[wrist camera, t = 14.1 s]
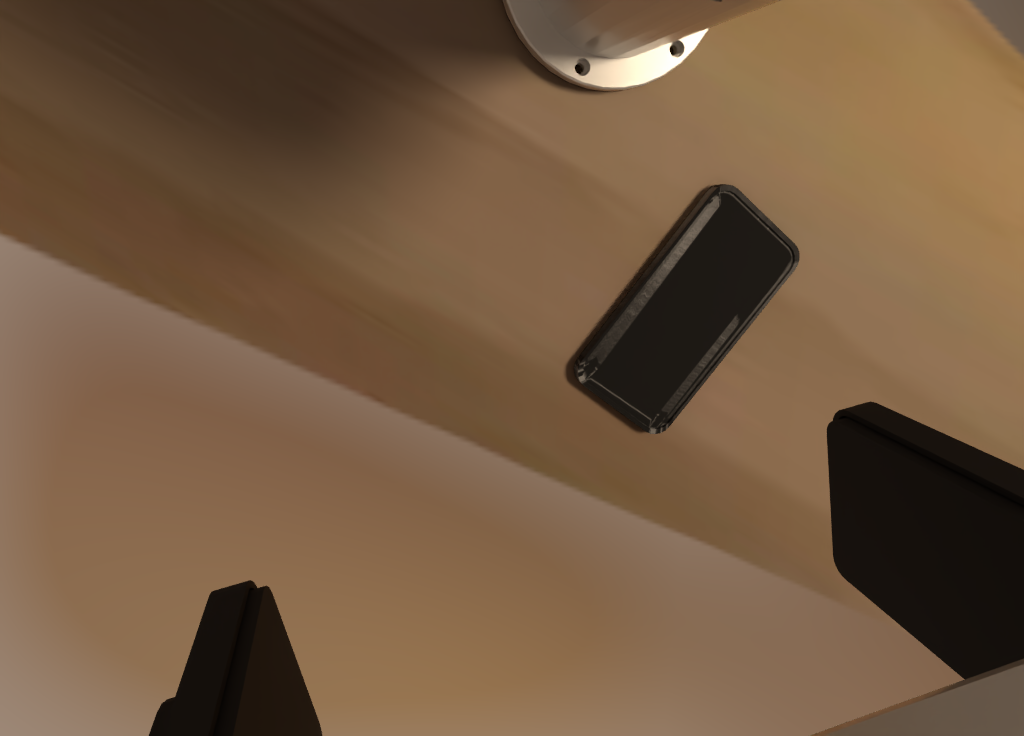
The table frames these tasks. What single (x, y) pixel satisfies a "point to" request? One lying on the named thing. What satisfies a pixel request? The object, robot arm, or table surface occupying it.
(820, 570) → the table surface
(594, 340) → the phone
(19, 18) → the table surface
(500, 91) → the table surface
